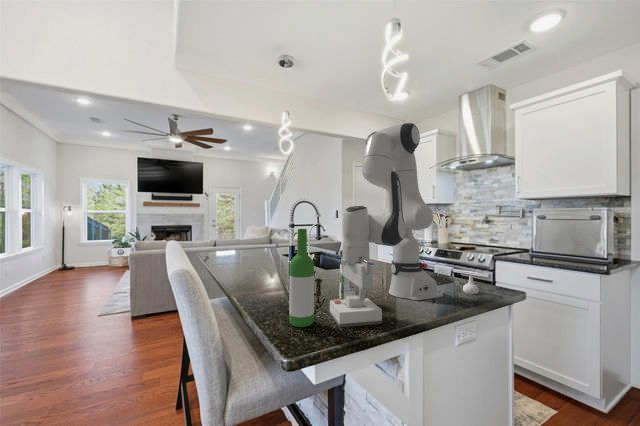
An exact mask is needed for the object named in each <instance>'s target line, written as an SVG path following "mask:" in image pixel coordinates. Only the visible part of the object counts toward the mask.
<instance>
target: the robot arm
mask: <svg viewBox="0 0 640 426" xmlns="http://www.w3.org/2000/svg"><path fill="white" fill-rule="evenodd" d="M420 139H421V136H420V130H419V128H418V126H417V125H415V123H409V122H408V123H405V122H404V123H403V124H396V125H392V126H388V127H386V128H383V129H380V130H377V131H373V132H372V133H370V134H369V135H368V136H367V138H366V140H365V148H364V151H363V155H362V162H361V174H362V176H363V178H364V179H365V180H366V181H367V182H368V183H370V184H372V185H374V186H376V187H380V188H382V189H384V190H386V194H387V207H386V208H385V209H384V210H383V212H382V215H371V214H369V211H368V208H367V206H363V205H353V206H349V207H347V208H346V209H344V212H343V218H342V236H343V243H342V249H341V250H339V257H340V258H341V259H340V261H341V262H340V264H341V266H342V274H343V276H344V277H345V278H347V283H348V287H349V292H350V293H354V292H355V287H354V284H355V285H356V286H357V287H356V288H358V291H359V293H358V299H359V300H360V301H365V298H366V295H367V292H368V291H371V290H373V288H374V277H373V276H374V275H373V267H372V266H371V264H369V261H370V257H371V256H370V243H371V244H382V245H386V246H387V245H388V246H392V260H391V279H390V280H391V281H390V284H389V285H390V286H389V289H388V294H389V295H390V296H394V297H396V298H401V299H408V300H412V301H421V300H422V301H423V300H428V299H430V300H431V299H435V298H442V297H444V293H443V292H442V291H440V290H438V286H437V285H438V284H437V281H436V280H435V279H434V278H433V277H431V275H430V274H428V273H427V272H426V271H424V269H427V268H428V263H425V262H423V263H422V262H420V243H419V242H418V240H417V239H416V238H415V235H414V234H413V231H420V230H425V229H429V228H430V227H431V226H432V224H433V221H434V212H433V210H432V209H431V207H429V205H427V204H426V202H425V200H424V199H423V197H422V194H421V193H420V187H419V183H418V181H419V179H418V169H417V167H418V166H417V160H416V157H415V156H416V155H415V150H416V149H417V148H418V147H419V144H420V141H421V140H420ZM423 268H424V269H423Z"/></svg>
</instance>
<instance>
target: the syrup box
mask: <svg viewBox="0 0 640 426" xmlns="http://www.w3.org/2000/svg"><path fill="white" fill-rule="evenodd" d="M338 284H339V287H338V290H339V293H338V294H339V295H338V299H339V300H346V296H357V293H356V290H357V287H356V285H355V284H354V287H355V292H354V293H350V292H349V287H348V283H347V278H345V277H344V276H343V274H342V266H341V263H340V264H339V283H338Z"/></svg>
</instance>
